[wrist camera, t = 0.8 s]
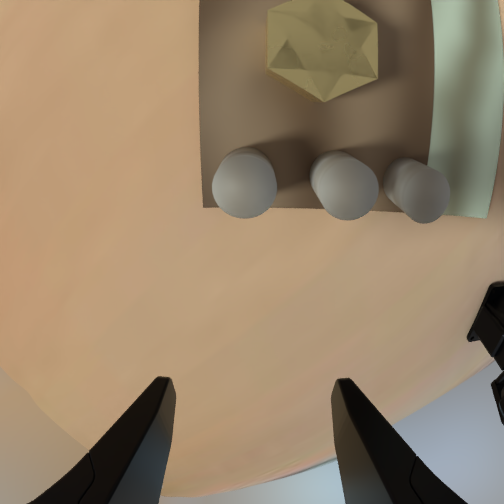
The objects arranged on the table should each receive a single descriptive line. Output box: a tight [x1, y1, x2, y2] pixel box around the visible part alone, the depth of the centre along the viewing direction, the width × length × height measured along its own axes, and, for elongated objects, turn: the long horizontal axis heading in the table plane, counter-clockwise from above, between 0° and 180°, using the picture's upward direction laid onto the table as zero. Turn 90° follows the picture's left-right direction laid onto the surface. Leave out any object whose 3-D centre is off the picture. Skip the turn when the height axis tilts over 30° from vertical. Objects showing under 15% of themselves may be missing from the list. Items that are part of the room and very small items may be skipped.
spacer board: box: [199, 0, 504, 224], centre depth 12 cm, size 20×18×4 cm
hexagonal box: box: [266, 0, 378, 102], centre depth 12 cm, size 5×6×3 cm
